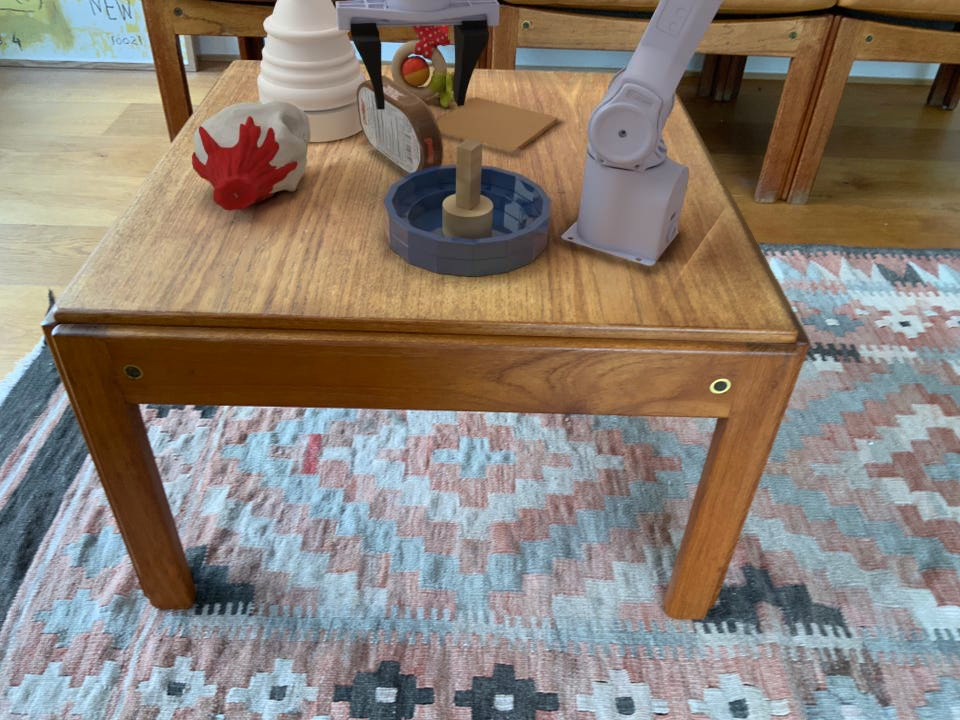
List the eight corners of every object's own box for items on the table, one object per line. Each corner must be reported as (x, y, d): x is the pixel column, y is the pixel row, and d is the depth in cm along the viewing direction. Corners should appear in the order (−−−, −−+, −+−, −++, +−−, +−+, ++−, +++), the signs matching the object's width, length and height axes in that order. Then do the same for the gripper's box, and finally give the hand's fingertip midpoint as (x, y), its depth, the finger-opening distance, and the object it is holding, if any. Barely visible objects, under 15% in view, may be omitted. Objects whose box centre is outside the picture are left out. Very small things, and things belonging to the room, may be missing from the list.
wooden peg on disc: (500, 228, 77) (505, 141, 71) (476, 249, 73) (479, 160, 68) (458, 215, 78) (460, 128, 73) (432, 235, 75) (432, 146, 69)
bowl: (572, 226, 79) (577, 189, 76) (498, 300, 68) (500, 261, 66) (441, 186, 84) (441, 151, 82) (353, 249, 74) (350, 211, 71)
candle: (315, 158, 87) (303, 241, 77) (212, 157, 86) (185, 241, 76) (307, 81, 81) (292, 161, 71) (195, 79, 80) (163, 160, 70)
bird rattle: (408, 126, 102) (472, 101, 99) (369, 44, 95) (437, 15, 93) (412, 108, 107) (474, 84, 104) (376, 29, 100) (441, 1, 98)
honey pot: (370, 140, 93) (361, -24, 81) (259, 143, 91) (234, -24, 80) (366, 100, 103) (357, -52, 91) (265, 102, 101) (244, -53, 89)
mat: (557, 122, 99) (557, 117, 99) (513, 155, 91) (513, 150, 91) (475, 101, 104) (475, 96, 103) (426, 131, 96) (426, 126, 95)
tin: (445, 185, 85) (446, 109, 79) (420, 192, 83) (419, 115, 78) (378, 135, 94) (374, 64, 89) (354, 141, 93) (349, 69, 87)
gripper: (490, -63, 71) (484, 85, 80) (329, -62, 69) (341, 91, 77) (508, -45, 66) (499, 112, 75) (334, -43, 63) (346, 119, 72)
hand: (419, 103), depth 76 cm, fingers open, 7 cm apart
